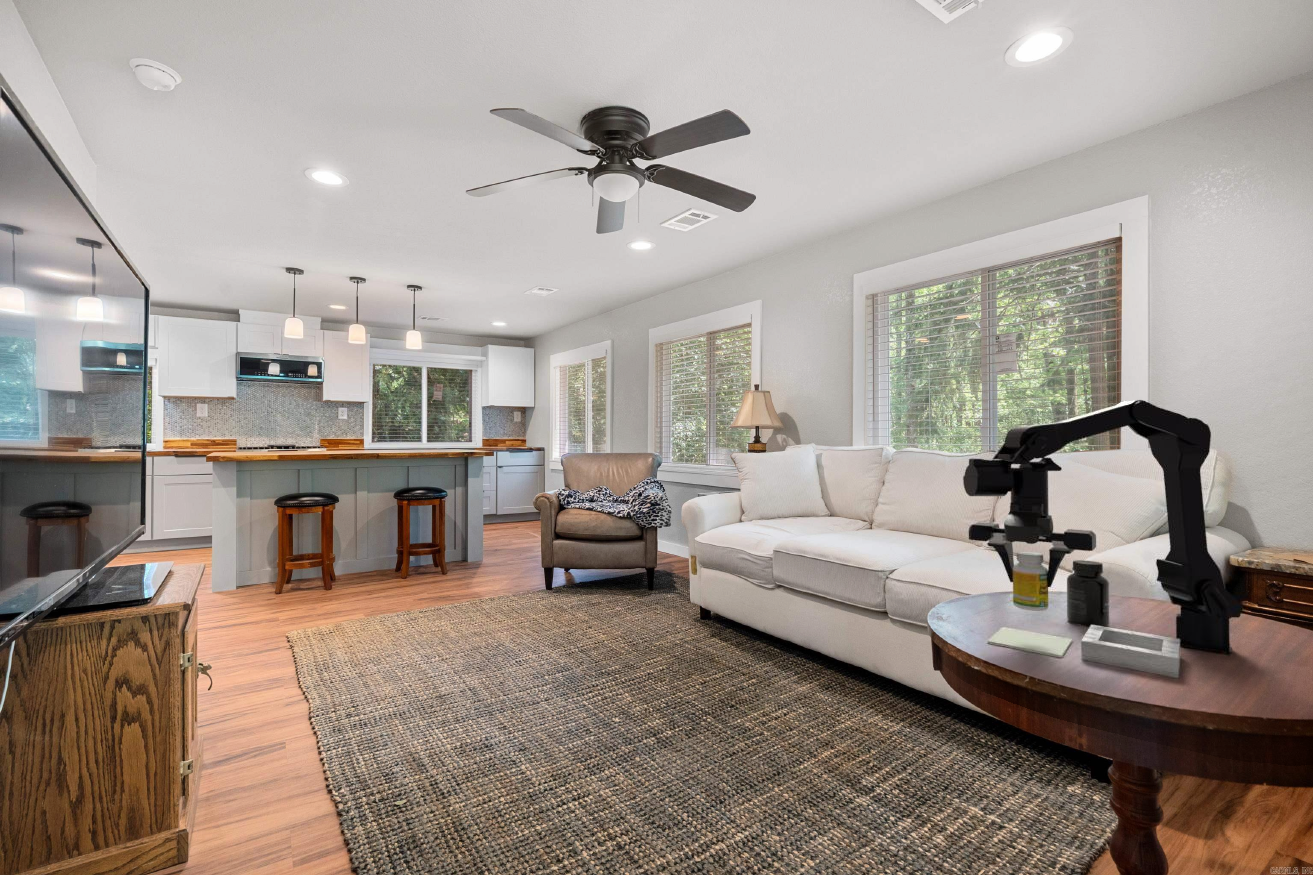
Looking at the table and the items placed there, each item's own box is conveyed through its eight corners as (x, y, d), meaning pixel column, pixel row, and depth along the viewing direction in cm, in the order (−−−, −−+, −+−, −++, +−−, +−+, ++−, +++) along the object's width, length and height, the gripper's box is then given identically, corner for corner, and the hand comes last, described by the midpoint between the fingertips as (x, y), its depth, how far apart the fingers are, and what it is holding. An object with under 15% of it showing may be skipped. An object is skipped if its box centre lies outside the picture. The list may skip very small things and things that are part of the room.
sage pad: (1072, 641, 107) (1072, 639, 107) (1061, 657, 99) (1061, 655, 99) (1002, 628, 115) (1002, 626, 115) (987, 643, 107) (987, 640, 107)
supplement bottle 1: (1018, 601, 111) (1017, 549, 111) (1052, 607, 107) (1051, 553, 107) (1009, 607, 107) (1008, 553, 107) (1044, 613, 103) (1043, 557, 103)
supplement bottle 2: (1117, 629, 115) (1116, 566, 115) (1076, 627, 116) (1076, 564, 116) (1098, 619, 121) (1097, 559, 121) (1060, 617, 123) (1060, 558, 123)
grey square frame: (1180, 657, 100) (1180, 638, 100) (1178, 678, 91) (1178, 658, 91) (1091, 641, 108) (1091, 624, 108) (1081, 659, 99) (1081, 640, 99)
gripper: (959, 496, 108) (960, 584, 107) (1086, 503, 95) (1088, 602, 95) (976, 492, 116) (977, 574, 116) (1096, 498, 103) (1097, 589, 103)
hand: (1030, 584), depth 107 cm, fingers closed on supplement bottle 1, 5 cm apart
